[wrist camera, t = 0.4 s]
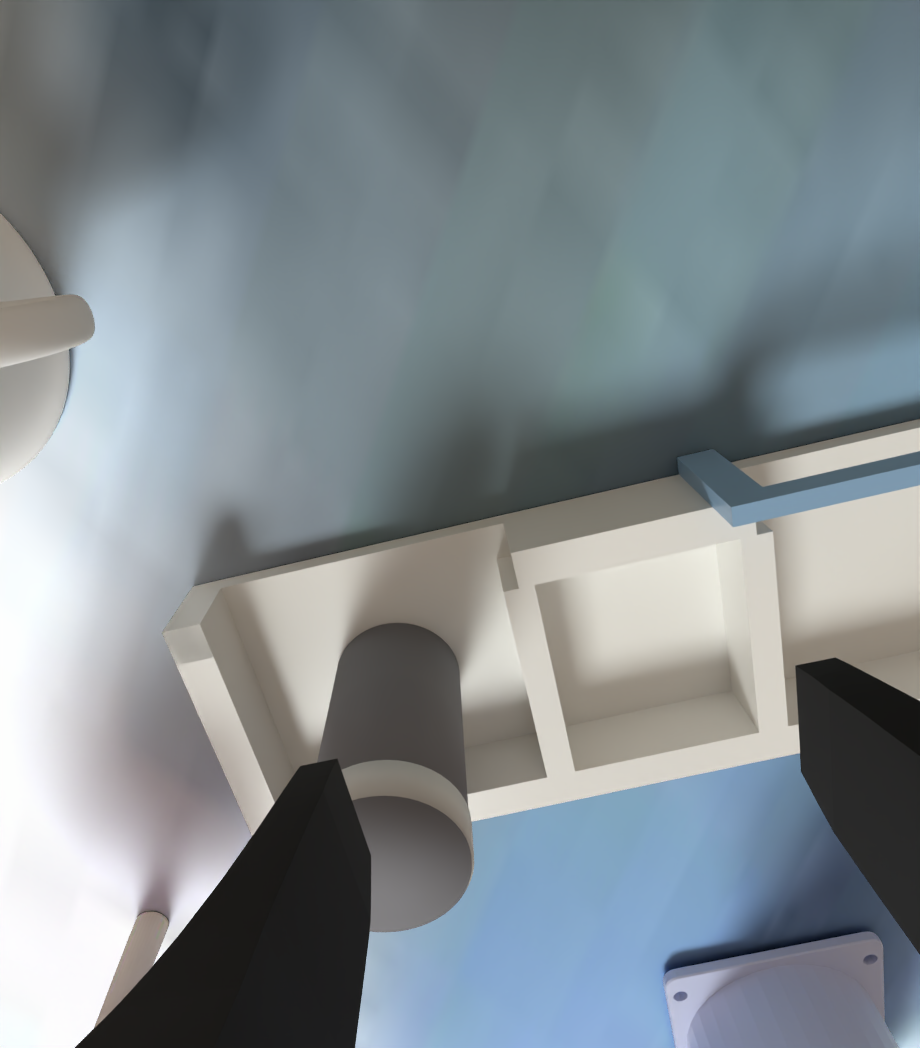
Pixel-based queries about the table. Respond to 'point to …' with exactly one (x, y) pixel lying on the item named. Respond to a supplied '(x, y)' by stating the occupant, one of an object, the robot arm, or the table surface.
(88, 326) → the mug
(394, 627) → the plug
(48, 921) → the table surface
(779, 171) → the table surface
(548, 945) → the table surface
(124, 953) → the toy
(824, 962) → the robot arm
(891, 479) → the compartment tray
